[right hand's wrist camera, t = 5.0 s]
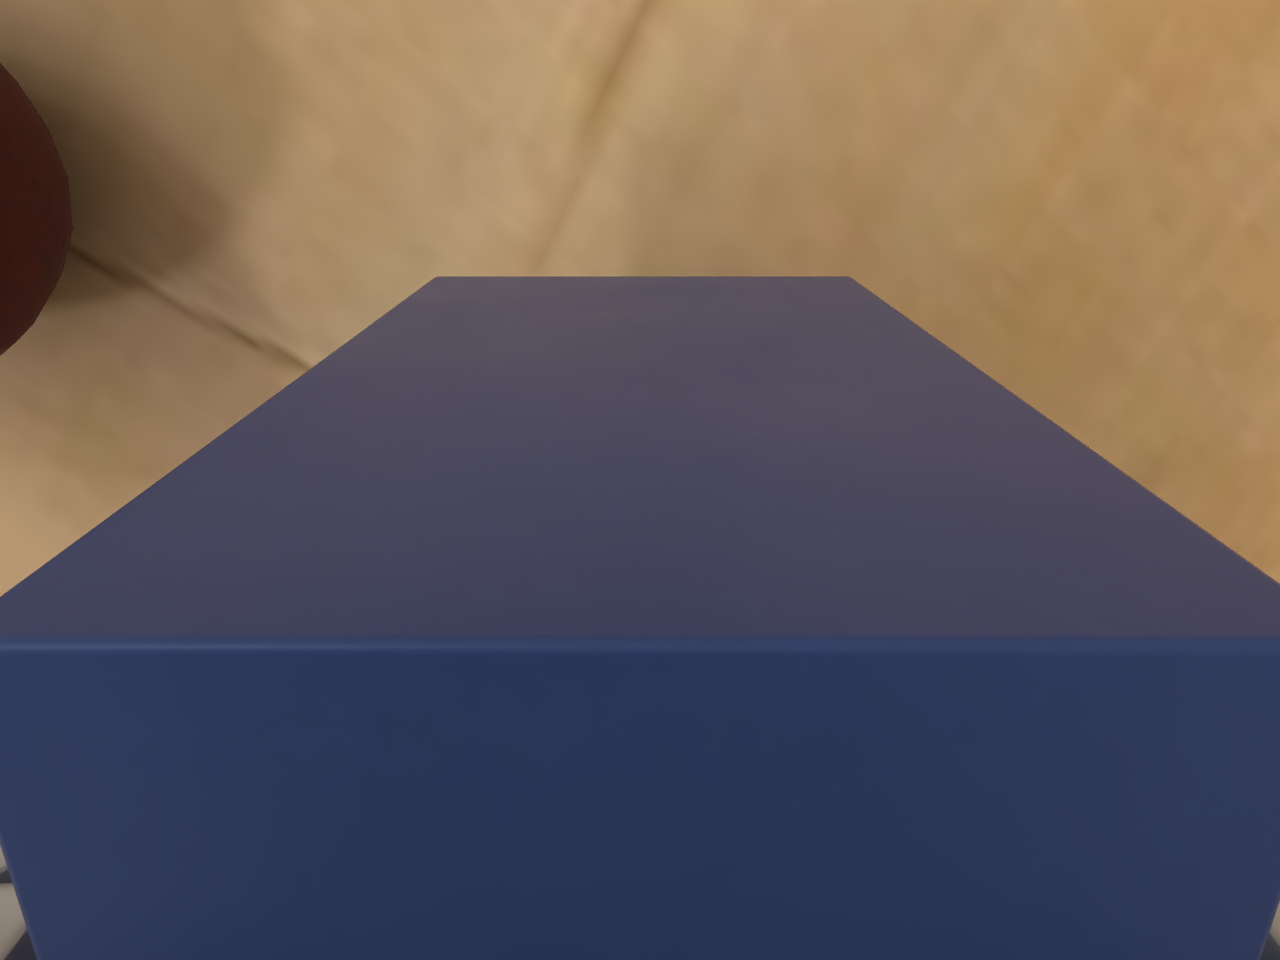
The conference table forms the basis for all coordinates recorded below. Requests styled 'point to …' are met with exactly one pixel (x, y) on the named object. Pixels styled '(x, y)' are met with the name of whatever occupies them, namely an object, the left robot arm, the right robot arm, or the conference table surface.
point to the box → (643, 661)
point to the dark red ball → (28, 213)
